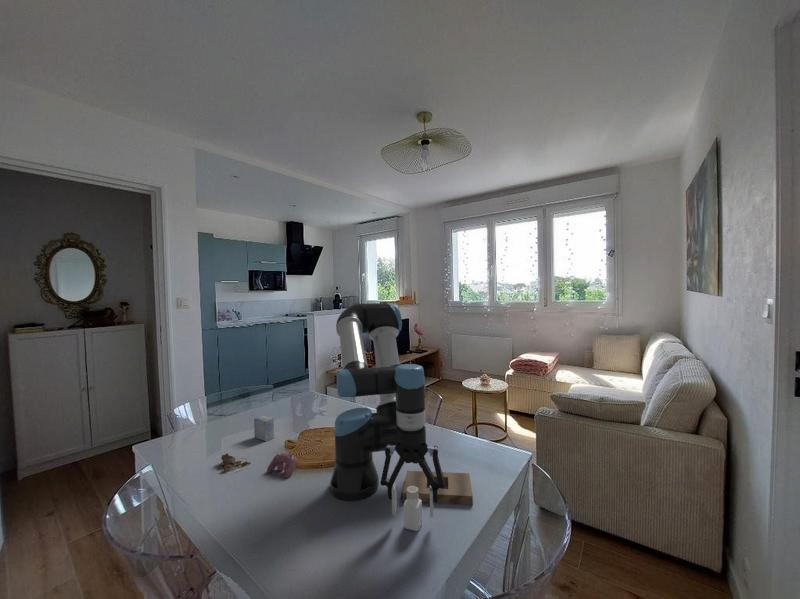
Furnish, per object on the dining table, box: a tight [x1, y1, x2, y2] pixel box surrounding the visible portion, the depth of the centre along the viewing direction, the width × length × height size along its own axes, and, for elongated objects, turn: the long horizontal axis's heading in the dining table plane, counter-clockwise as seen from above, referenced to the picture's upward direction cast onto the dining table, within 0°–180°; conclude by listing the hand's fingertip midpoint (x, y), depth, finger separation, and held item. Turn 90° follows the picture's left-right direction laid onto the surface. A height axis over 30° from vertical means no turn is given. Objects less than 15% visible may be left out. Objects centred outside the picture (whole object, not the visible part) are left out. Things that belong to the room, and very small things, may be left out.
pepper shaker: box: [403, 486, 423, 532], centre depth 84 cm, size 4×4×10 cm
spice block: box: [402, 470, 474, 506], centre depth 99 cm, size 20×12×2 cm, turn 83°
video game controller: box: [266, 452, 299, 479], centre depth 113 cm, size 10×5×7 cm, turn 65°
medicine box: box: [253, 415, 275, 442], centre depth 141 cm, size 8×4×9 cm, turn 58°
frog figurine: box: [217, 453, 252, 474], centre depth 117 cm, size 12×12×4 cm
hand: (413, 512), depth 84 cm, fingers open, 9 cm apart
